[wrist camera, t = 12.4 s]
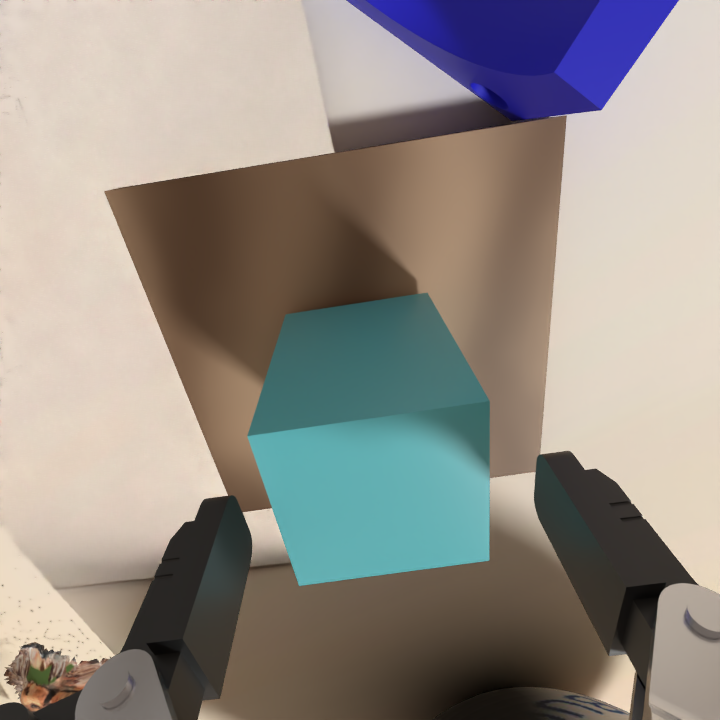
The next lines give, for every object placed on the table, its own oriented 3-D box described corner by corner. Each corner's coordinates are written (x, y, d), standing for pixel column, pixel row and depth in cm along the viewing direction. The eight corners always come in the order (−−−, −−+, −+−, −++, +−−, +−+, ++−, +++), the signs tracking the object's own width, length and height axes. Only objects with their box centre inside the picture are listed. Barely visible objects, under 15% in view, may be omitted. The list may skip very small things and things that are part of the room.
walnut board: (550, 117, 15) (566, 115, 14) (529, 455, 22) (538, 471, 21) (120, 187, 15) (104, 191, 14) (240, 495, 23) (235, 513, 22)
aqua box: (427, 292, 16) (489, 401, 9) (435, 410, 19) (489, 560, 12) (285, 314, 16) (247, 436, 10) (313, 427, 19) (299, 585, 12)
